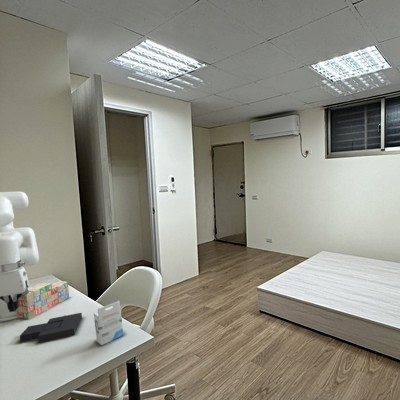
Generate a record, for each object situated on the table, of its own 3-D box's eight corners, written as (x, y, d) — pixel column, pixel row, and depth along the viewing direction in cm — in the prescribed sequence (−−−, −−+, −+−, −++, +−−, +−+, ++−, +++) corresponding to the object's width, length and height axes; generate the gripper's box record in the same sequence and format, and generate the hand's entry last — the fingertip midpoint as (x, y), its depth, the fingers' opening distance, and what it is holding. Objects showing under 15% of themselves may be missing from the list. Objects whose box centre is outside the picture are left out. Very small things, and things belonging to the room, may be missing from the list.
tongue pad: (20, 342, 105) (19, 335, 105) (29, 332, 112) (28, 326, 112) (57, 335, 109) (56, 328, 109) (63, 326, 116) (63, 319, 115)
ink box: (118, 330, 111) (115, 297, 109) (123, 335, 107) (120, 300, 106) (95, 341, 104) (92, 305, 103) (100, 346, 101) (97, 309, 99)
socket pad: (38, 342, 104) (37, 336, 104) (50, 324, 117) (49, 318, 117) (74, 334, 109) (73, 328, 109) (82, 318, 122) (81, 312, 121)
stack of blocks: (59, 296, 145) (58, 275, 143) (69, 298, 143) (67, 276, 142) (17, 318, 124) (15, 292, 123) (28, 319, 123) (26, 294, 121)
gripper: (35, 260, 111) (39, 302, 113) (-12, 266, 105) (-6, 309, 107) (27, 266, 104) (33, 310, 106) (-23, 273, 98) (-16, 319, 101)
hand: (13, 310), depth 107 cm, fingers closed
